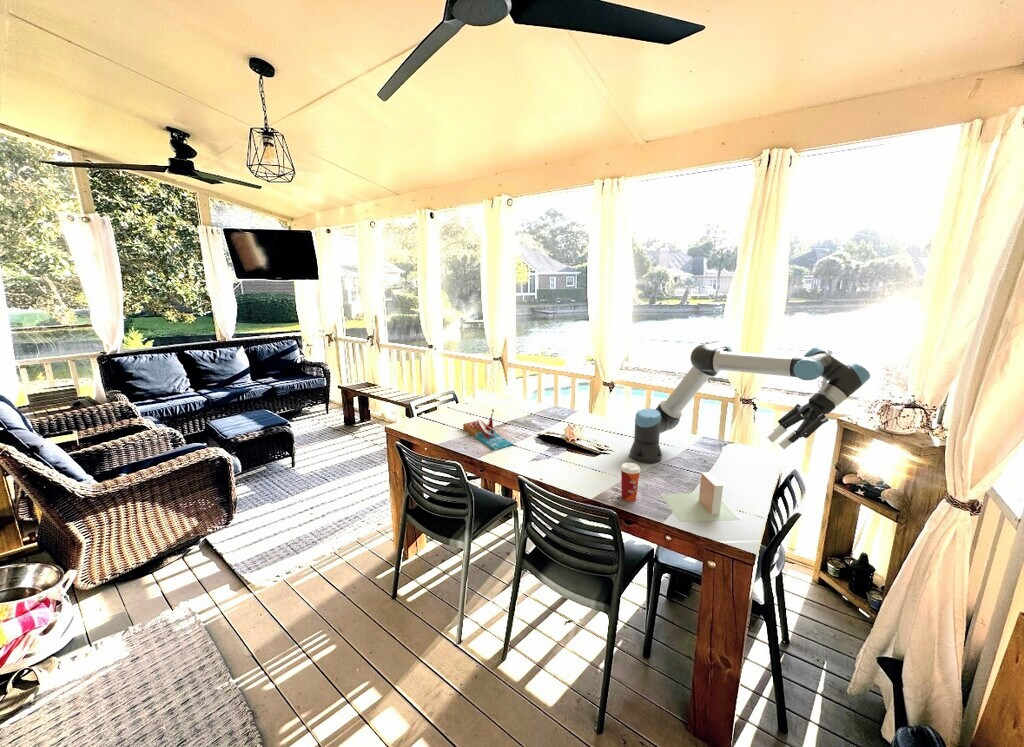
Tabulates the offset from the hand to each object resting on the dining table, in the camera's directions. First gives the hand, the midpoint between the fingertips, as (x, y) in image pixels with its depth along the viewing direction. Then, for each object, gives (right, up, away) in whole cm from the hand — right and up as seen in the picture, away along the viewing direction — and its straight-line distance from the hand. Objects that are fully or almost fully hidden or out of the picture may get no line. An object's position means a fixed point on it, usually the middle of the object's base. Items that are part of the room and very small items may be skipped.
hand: (775, 443), depth 147 cm
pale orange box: (-22, -26, +5) cm, 34 cm away
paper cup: (-50, -25, +14) cm, 58 cm away
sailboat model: (-112, -11, +80) cm, 138 cm away
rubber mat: (-26, -26, +6) cm, 37 cm away
